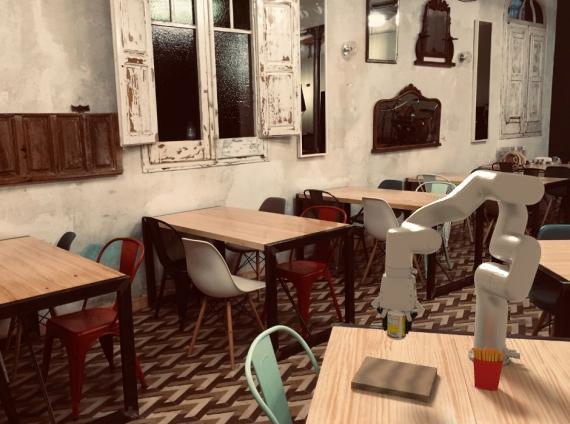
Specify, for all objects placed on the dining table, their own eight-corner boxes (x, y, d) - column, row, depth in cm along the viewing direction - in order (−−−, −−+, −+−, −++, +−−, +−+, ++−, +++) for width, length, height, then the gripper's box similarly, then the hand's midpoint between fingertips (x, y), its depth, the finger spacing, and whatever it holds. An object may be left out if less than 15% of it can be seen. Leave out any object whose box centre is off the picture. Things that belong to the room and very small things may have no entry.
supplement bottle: (402, 332, 166) (403, 300, 164) (408, 340, 160) (410, 306, 158) (384, 333, 165) (385, 300, 163) (389, 341, 160) (390, 307, 158)
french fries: (500, 385, 162) (503, 347, 160) (501, 392, 158) (503, 353, 156) (470, 381, 165) (472, 343, 162) (469, 387, 161) (472, 348, 159)
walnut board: (437, 373, 169) (437, 367, 169) (428, 402, 153) (428, 395, 153) (366, 361, 178) (366, 356, 177) (350, 388, 161) (351, 381, 161)
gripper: (431, 270, 159) (428, 330, 163) (372, 264, 166) (370, 322, 169) (427, 278, 152) (424, 340, 156) (365, 271, 159) (364, 331, 162)
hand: (396, 330), depth 162 cm, fingers closed on supplement bottle, 5 cm apart
